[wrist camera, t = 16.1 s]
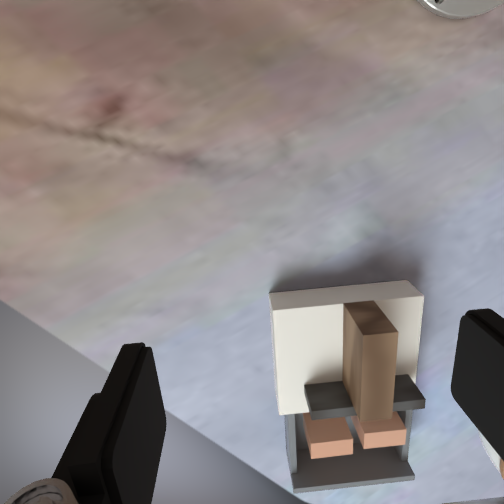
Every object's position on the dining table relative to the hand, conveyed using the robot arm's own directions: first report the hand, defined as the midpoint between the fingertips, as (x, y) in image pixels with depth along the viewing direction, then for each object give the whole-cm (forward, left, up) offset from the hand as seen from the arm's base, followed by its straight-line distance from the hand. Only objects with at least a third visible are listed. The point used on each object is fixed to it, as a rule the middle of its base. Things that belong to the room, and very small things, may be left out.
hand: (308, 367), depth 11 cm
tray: (-10, +31, -28) cm, 43 cm away
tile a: (-13, +28, -25) cm, 40 cm away
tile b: (-7, +29, -25) cm, 39 cm away
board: (-9, +19, -28) cm, 35 cm away
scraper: (-10, +17, -24) cm, 31 cm away
